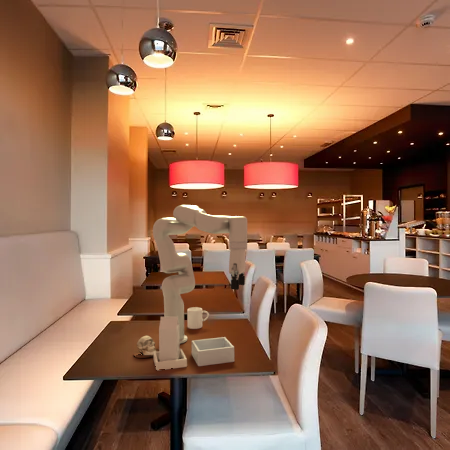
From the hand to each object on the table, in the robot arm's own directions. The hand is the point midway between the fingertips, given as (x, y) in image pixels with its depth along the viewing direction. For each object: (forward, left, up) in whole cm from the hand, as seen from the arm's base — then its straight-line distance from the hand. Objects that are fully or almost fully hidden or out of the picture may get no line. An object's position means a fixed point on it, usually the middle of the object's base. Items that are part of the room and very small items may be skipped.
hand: (238, 287), depth 146 cm
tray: (-6, -28, -31) cm, 42 cm away
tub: (-6, -10, -31) cm, 32 cm away
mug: (-51, -6, -31) cm, 60 cm away
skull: (-19, -36, -31) cm, 51 cm away
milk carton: (-6, -28, -31) cm, 42 cm away
